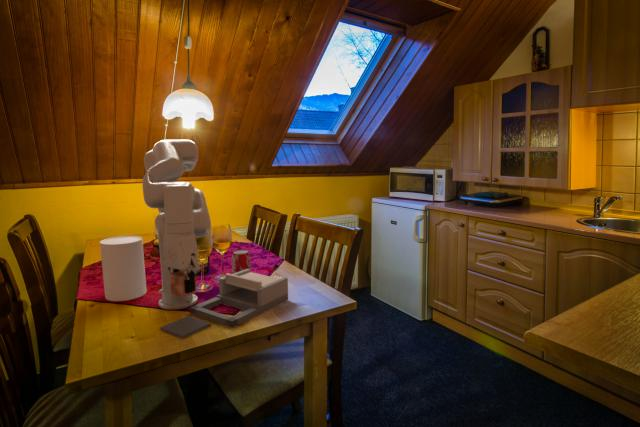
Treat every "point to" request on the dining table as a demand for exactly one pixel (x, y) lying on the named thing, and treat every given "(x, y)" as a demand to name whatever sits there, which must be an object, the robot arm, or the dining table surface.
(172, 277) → the block
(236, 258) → the soda can
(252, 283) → the sliding lid
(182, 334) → the mat
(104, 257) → the canister
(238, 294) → the gray box frame
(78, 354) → the dining table surface
